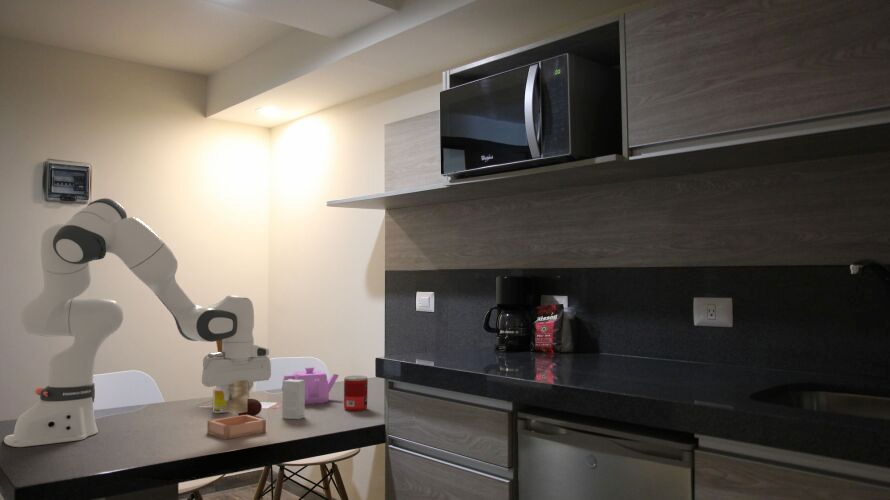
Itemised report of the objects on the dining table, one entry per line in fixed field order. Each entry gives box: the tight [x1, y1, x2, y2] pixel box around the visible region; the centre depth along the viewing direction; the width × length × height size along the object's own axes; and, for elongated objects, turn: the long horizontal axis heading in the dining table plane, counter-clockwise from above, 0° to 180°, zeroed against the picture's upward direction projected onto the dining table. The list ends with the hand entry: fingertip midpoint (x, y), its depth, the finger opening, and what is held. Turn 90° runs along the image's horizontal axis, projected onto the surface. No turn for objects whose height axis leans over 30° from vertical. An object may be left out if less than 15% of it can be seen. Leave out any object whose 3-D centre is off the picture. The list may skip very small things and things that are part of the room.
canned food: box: [343, 375, 369, 412], centre depth 223 cm, size 8×8×11 cm
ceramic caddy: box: [206, 415, 267, 440], centre depth 188 cm, size 12×11×4 cm
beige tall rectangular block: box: [226, 380, 249, 415], centre depth 188 cm, size 4×5×9 cm
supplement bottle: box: [212, 386, 227, 414], centre depth 218 cm, size 6×6×10 cm
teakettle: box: [281, 366, 339, 405], centre depth 239 cm, size 17×17×12 cm
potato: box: [237, 398, 263, 417], centre depth 209 cm, size 7×8×6 cm
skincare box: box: [281, 379, 306, 420], centre depth 209 cm, size 6×4×12 cm
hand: (236, 399), depth 188 cm, fingers closed on beige tall rectangular block, 4 cm apart
